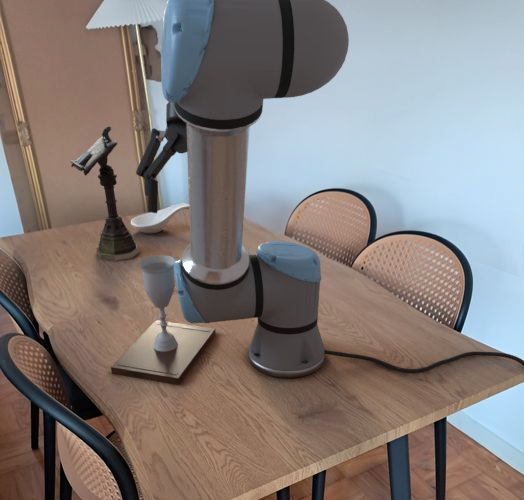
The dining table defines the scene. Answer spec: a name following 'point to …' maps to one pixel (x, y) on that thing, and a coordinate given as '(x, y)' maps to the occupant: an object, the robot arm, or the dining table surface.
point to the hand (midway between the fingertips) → (183, 212)
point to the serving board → (164, 353)
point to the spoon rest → (156, 219)
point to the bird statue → (108, 201)
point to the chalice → (160, 293)
